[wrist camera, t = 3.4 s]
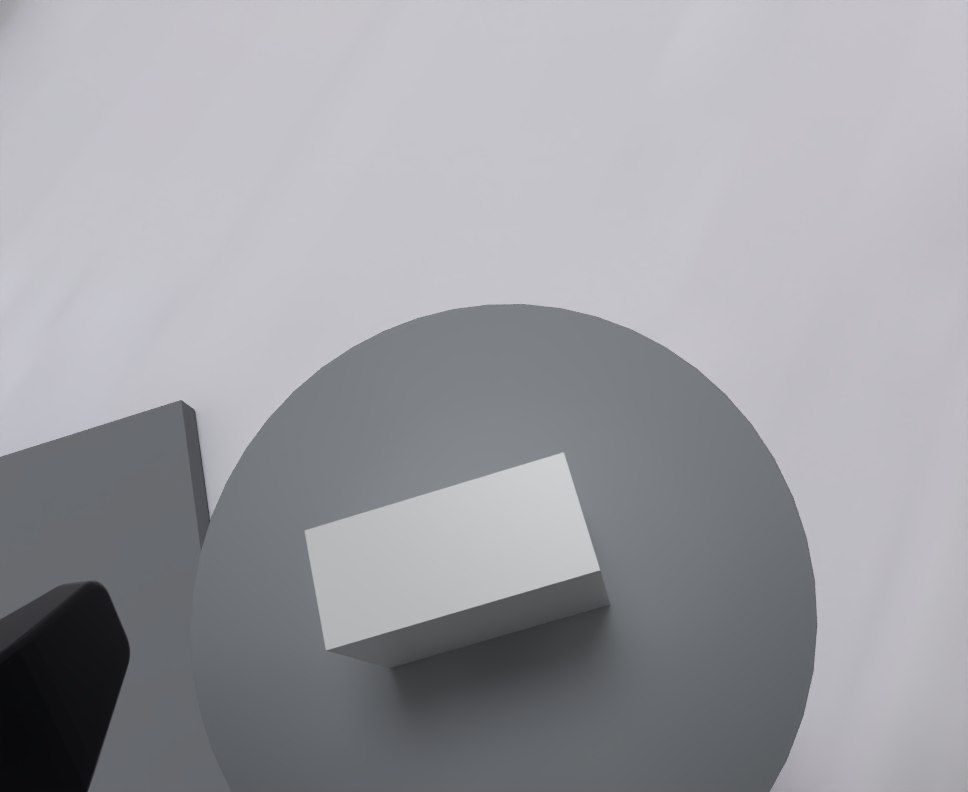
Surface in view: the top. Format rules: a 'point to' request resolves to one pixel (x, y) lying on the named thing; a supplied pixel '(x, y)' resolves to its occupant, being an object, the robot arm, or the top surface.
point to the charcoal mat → (123, 576)
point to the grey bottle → (504, 573)
